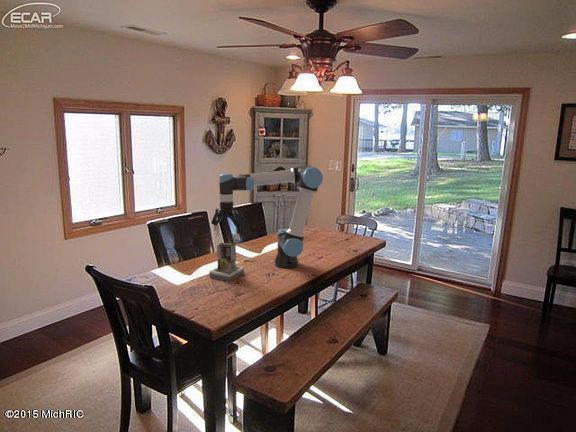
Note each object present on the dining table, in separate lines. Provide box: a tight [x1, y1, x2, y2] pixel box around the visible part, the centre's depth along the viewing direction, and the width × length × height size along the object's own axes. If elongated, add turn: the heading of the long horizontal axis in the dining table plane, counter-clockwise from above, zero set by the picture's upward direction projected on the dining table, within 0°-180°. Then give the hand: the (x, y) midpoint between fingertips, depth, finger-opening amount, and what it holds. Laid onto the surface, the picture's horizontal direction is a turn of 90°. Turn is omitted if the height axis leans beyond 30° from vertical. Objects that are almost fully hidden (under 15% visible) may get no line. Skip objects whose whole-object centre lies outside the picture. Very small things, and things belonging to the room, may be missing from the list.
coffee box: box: [216, 242, 237, 273], centre depth 241 cm, size 9×6×16 cm
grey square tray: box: [209, 265, 245, 282], centre depth 242 cm, size 14×15×4 cm
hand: (227, 237), depth 239 cm, fingers open, 13 cm apart
